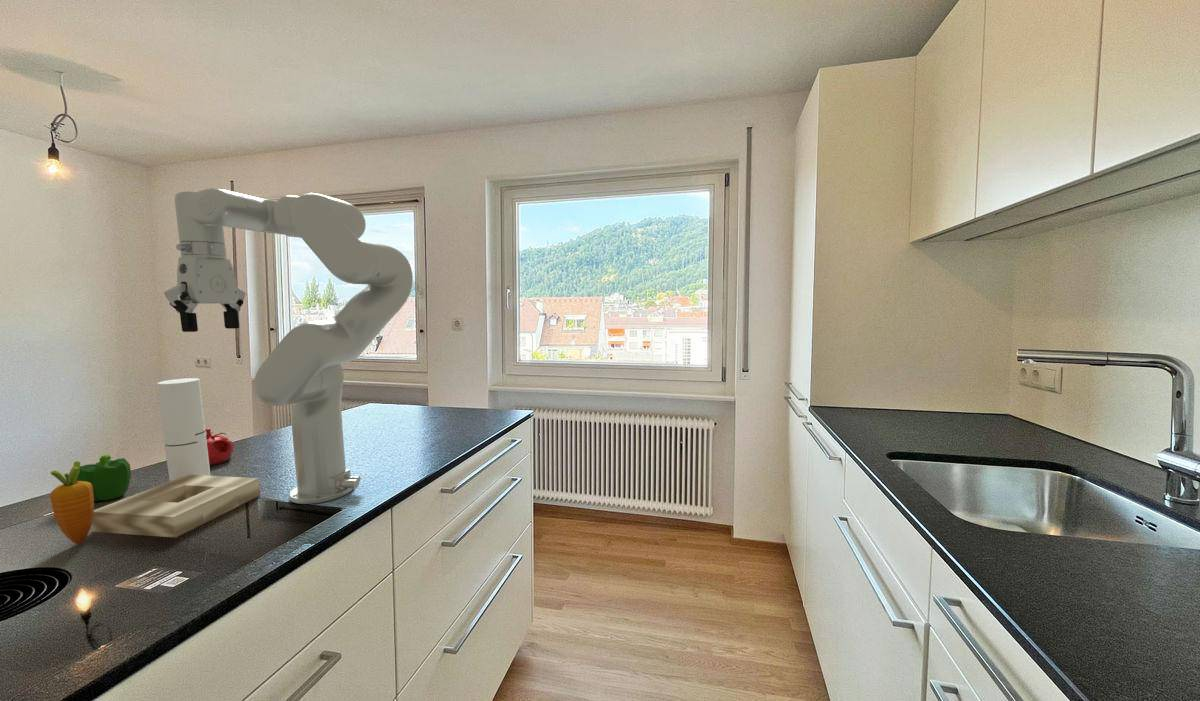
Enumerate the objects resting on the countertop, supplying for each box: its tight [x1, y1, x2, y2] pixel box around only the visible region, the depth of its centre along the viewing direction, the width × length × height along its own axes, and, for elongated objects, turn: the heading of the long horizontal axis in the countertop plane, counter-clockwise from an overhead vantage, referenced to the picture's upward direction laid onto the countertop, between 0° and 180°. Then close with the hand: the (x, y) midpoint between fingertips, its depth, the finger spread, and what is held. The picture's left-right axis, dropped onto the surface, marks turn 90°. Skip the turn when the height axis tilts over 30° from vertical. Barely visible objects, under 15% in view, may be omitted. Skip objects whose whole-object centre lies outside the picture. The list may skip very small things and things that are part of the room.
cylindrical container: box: [156, 377, 211, 482], centre depth 106 cm, size 7×7×25 cm
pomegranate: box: [205, 427, 235, 466], centre depth 122 cm, size 10×10×9 cm
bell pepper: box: [76, 454, 132, 503], centre depth 100 cm, size 8×8×10 cm
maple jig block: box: [91, 475, 261, 538], centre depth 94 cm, size 18×18×4 cm
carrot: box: [49, 460, 95, 546], centre depth 81 cm, size 5×5×15 cm
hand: (212, 329), depth 101 cm, fingers open, 9 cm apart
